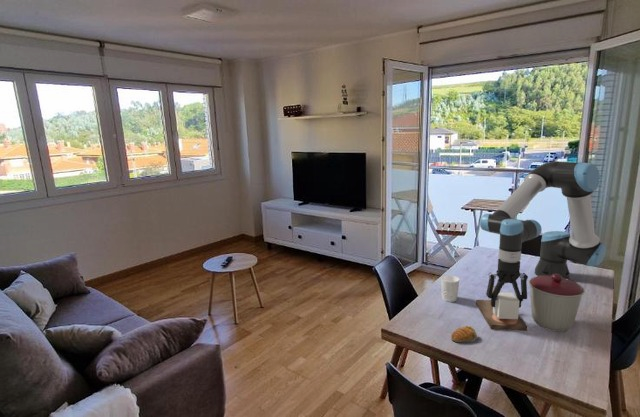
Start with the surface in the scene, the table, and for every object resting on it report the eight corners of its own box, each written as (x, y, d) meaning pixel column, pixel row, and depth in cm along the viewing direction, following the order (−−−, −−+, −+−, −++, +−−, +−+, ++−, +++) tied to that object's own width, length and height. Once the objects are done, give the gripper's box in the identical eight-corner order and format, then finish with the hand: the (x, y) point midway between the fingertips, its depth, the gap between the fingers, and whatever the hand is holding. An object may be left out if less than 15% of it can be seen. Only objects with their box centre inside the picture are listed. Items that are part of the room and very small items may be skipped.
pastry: (460, 346, 129) (460, 337, 129) (446, 337, 135) (446, 328, 134) (478, 339, 133) (479, 330, 133) (464, 330, 139) (464, 322, 139)
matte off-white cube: (492, 309, 146) (494, 292, 144) (511, 310, 145) (512, 292, 143) (498, 318, 139) (500, 300, 138) (517, 319, 138) (519, 300, 137)
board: (507, 304, 157) (508, 283, 155) (526, 330, 137) (529, 306, 135) (475, 303, 159) (477, 283, 157) (491, 329, 139) (492, 305, 137)
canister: (582, 342, 129) (589, 287, 124) (525, 330, 138) (529, 279, 133) (576, 318, 144) (582, 269, 140) (525, 309, 153) (529, 262, 149)
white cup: (459, 296, 167) (460, 276, 165) (457, 303, 160) (458, 283, 158) (441, 293, 170) (442, 274, 168) (439, 301, 163) (440, 280, 161)
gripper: (484, 262, 135) (481, 318, 140) (541, 263, 132) (536, 320, 137) (479, 255, 142) (476, 308, 147) (532, 256, 139) (527, 310, 144)
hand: (505, 314), depth 142 cm, fingers closed on matte off-white cube, 7 cm apart
